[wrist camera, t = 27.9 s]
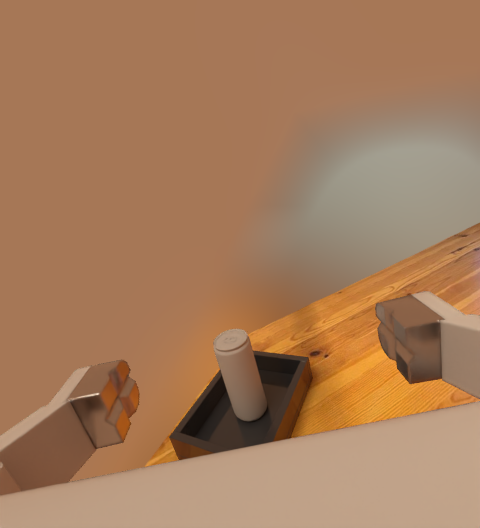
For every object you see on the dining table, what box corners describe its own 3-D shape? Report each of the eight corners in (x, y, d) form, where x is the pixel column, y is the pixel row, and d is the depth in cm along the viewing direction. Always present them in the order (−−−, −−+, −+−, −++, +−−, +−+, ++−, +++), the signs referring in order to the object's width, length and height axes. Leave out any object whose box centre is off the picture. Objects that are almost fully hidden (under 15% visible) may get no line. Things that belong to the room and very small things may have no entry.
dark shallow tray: (269, 495, 32) (261, 468, 31) (178, 459, 38) (168, 437, 37) (312, 378, 46) (308, 356, 45) (241, 367, 53) (235, 348, 52)
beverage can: (264, 425, 39) (243, 349, 35) (230, 423, 41) (206, 351, 37) (270, 396, 43) (252, 327, 40) (239, 396, 45) (219, 329, 41)
